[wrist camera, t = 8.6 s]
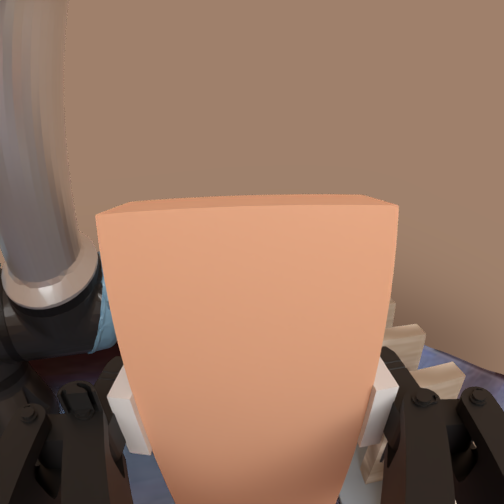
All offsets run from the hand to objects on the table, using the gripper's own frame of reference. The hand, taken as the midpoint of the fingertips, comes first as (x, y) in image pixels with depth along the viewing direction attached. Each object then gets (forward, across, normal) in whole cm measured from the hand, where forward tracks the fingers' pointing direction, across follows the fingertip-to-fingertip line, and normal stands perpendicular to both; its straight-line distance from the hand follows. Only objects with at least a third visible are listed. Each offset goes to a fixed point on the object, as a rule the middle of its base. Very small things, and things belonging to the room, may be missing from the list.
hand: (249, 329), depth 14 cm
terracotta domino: (-5, 0, -8) cm, 9 cm away
